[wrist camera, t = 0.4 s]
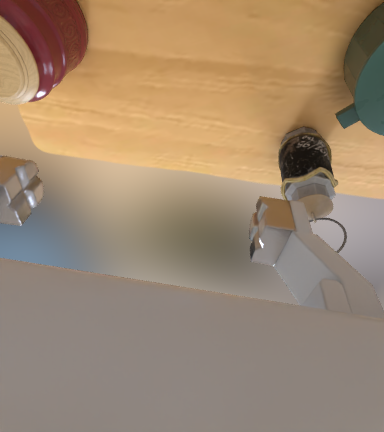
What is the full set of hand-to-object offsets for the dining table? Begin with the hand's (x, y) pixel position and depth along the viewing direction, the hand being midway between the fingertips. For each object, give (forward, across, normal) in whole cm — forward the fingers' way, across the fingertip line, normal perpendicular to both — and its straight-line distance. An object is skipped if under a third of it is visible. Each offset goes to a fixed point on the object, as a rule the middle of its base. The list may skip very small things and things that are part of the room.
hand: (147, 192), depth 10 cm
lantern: (+40, -19, +16) cm, 48 cm away
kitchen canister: (+40, +24, +3) cm, 47 cm away
